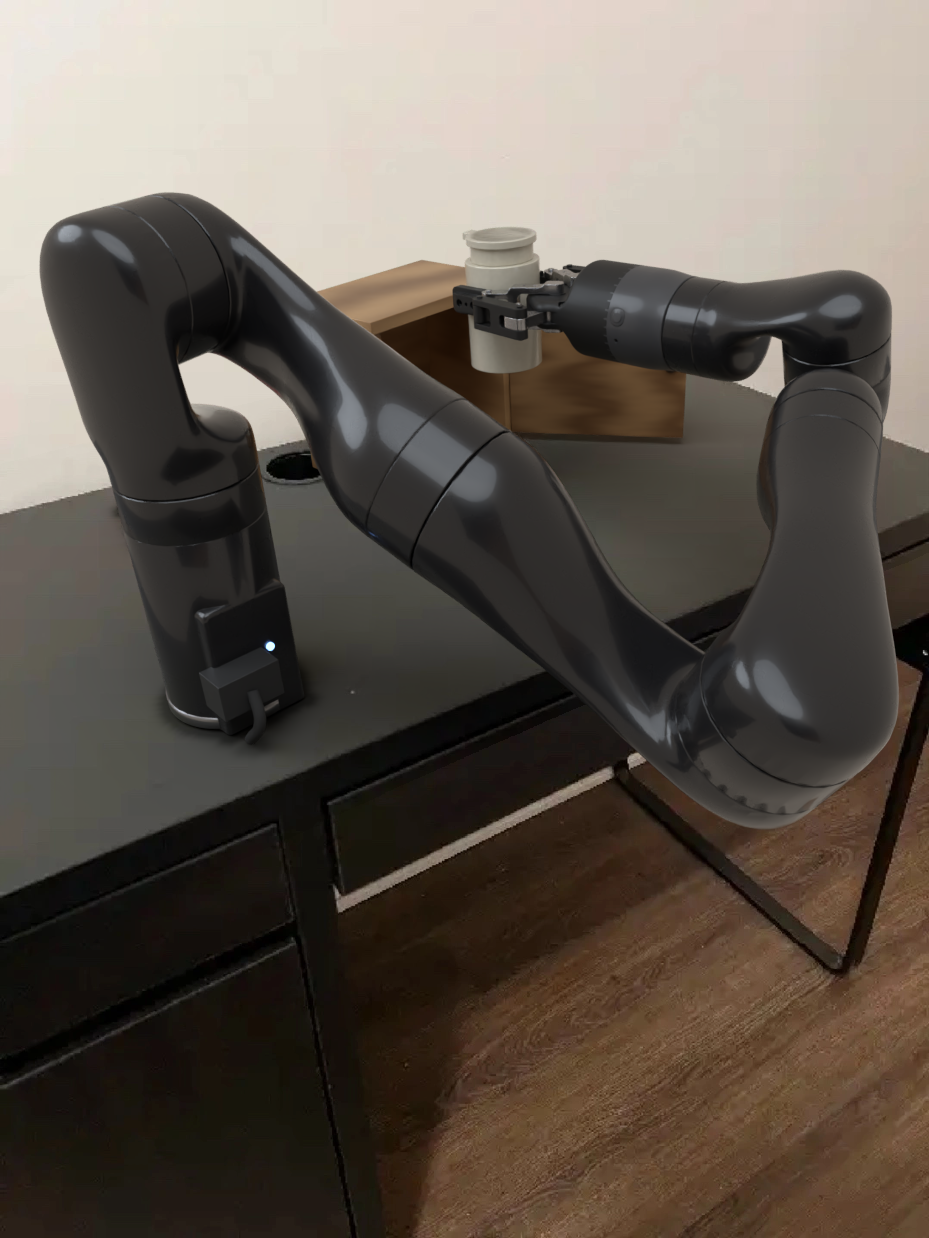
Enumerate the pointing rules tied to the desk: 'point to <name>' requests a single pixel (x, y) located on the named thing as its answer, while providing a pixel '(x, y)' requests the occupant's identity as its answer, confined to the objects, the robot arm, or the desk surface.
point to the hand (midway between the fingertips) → (484, 288)
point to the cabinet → (522, 401)
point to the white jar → (498, 267)
